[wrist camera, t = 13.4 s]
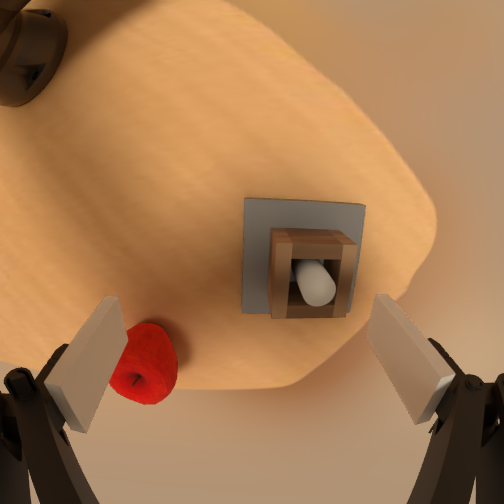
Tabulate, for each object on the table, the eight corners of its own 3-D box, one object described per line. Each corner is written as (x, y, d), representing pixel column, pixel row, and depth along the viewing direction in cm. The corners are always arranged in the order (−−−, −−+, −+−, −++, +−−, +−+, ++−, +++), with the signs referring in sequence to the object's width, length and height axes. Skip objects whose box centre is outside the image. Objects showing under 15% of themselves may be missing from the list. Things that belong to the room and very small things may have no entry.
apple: (198, 345, 39) (187, 401, 29) (154, 368, 40) (135, 420, 30) (157, 297, 37) (130, 346, 26) (114, 325, 38) (84, 372, 28)
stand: (244, 197, 33) (245, 212, 24) (361, 203, 33) (398, 220, 25) (241, 308, 37) (241, 352, 29) (346, 308, 38) (371, 347, 29)
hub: (270, 227, 33) (276, 242, 27) (339, 229, 33) (357, 245, 27) (267, 292, 35) (271, 318, 30) (331, 292, 36) (345, 317, 30)
